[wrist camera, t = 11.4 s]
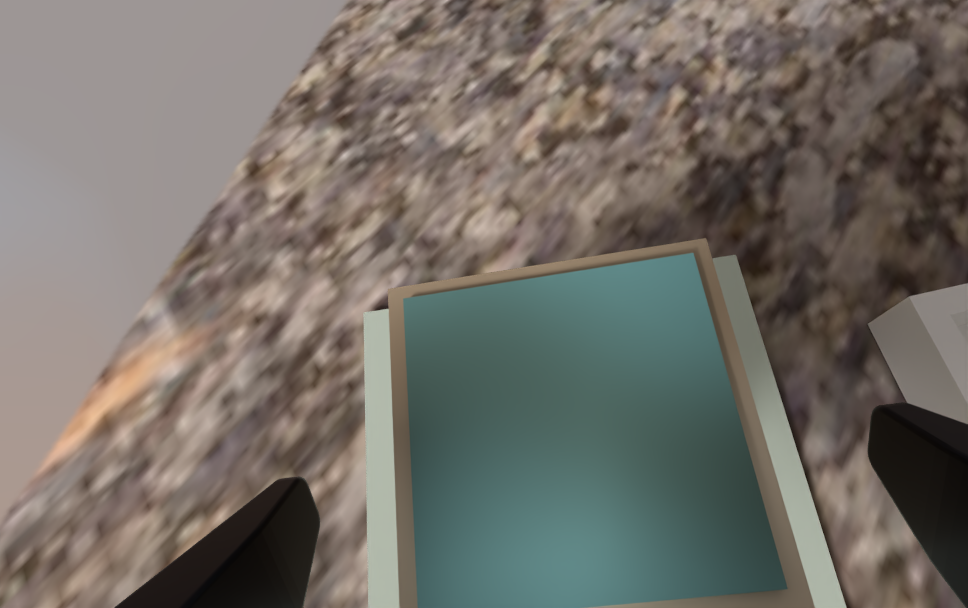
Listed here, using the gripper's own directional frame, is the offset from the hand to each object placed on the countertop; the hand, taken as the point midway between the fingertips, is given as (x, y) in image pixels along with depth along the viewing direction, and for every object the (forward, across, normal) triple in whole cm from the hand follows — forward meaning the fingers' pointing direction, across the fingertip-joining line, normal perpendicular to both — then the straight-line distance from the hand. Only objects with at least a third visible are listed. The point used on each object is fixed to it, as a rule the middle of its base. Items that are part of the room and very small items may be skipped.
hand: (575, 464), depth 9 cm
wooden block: (+7, 0, +6) cm, 10 cm away
